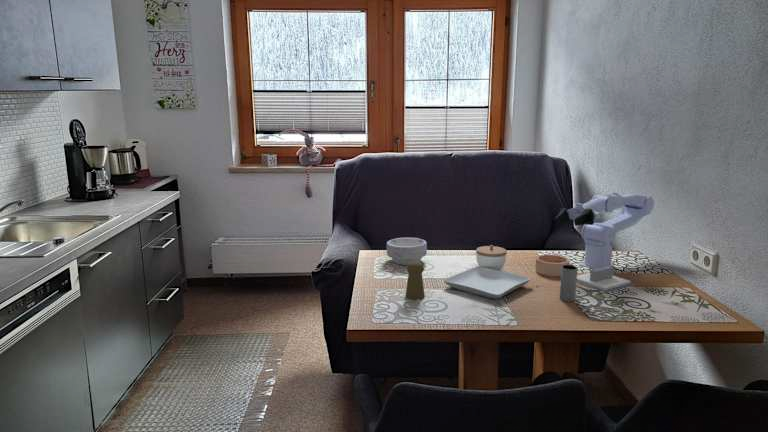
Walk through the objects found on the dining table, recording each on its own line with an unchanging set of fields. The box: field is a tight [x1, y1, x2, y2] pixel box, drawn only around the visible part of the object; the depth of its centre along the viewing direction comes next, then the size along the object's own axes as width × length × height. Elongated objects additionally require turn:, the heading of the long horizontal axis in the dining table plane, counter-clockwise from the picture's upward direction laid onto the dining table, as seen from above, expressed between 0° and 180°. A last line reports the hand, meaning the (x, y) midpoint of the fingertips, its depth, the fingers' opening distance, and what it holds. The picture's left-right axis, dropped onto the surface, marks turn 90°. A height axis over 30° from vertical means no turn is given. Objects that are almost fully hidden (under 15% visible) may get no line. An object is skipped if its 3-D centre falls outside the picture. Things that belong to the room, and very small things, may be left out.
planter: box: [559, 264, 578, 302], centre depth 166 cm, size 4×4×10 cm
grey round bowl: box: [386, 237, 428, 266], centre depth 205 cm, size 15×15×8 cm
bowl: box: [535, 253, 570, 277], centre depth 192 cm, size 11×11×5 cm
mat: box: [576, 281, 637, 293], centre depth 182 cm, size 16×16×1 cm
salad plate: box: [443, 265, 532, 299], centre depth 177 cm, size 21×21×3 cm
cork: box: [404, 261, 425, 301], centre depth 168 cm, size 6×6×11 cm
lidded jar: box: [475, 244, 507, 271], centre depth 194 cm, size 11×11×9 cm
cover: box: [577, 266, 632, 290], centre depth 181 cm, size 13×13×4 cm
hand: (565, 221), depth 183 cm, fingers open, 7 cm apart
